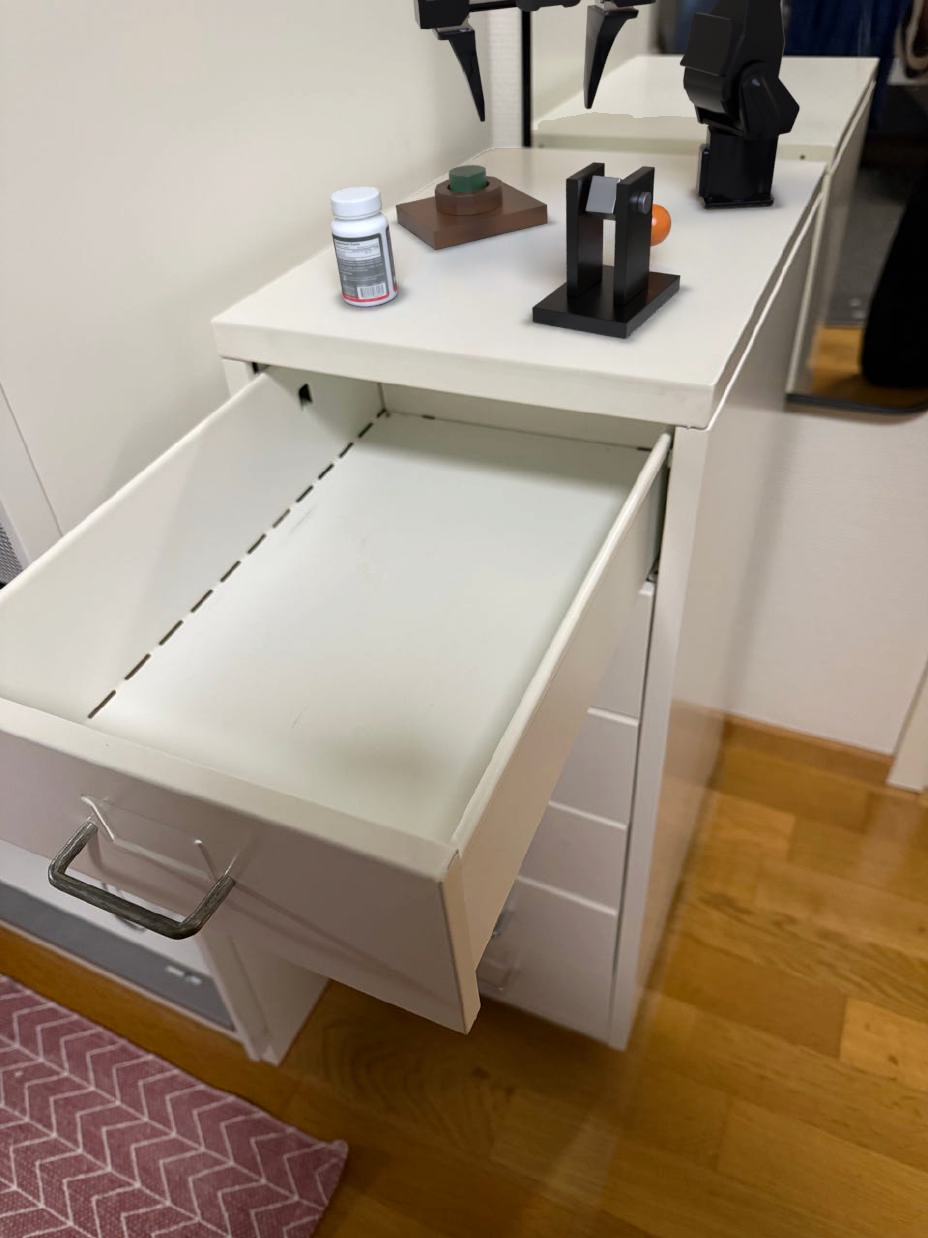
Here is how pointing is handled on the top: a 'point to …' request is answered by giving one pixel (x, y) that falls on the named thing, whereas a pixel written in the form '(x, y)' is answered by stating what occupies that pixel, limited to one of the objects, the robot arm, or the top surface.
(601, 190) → the switch lever
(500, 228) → the button block
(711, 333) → the top surface
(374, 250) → the pill bottle
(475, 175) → the button
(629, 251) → the switch bracket
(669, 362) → the top surface
